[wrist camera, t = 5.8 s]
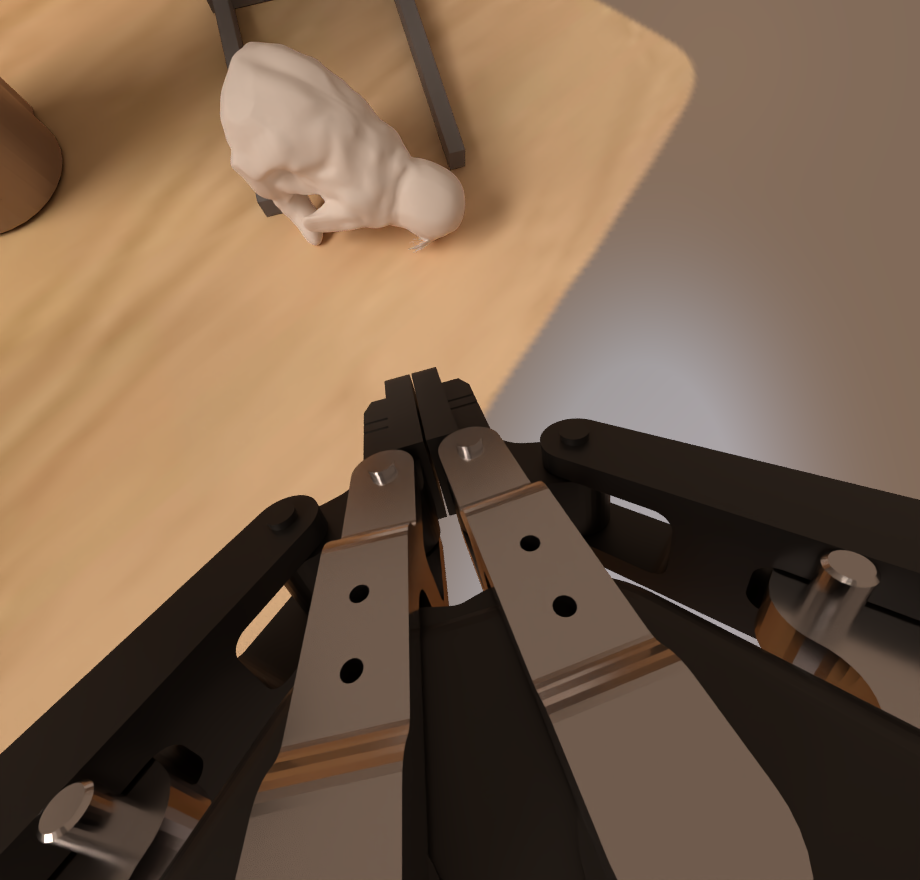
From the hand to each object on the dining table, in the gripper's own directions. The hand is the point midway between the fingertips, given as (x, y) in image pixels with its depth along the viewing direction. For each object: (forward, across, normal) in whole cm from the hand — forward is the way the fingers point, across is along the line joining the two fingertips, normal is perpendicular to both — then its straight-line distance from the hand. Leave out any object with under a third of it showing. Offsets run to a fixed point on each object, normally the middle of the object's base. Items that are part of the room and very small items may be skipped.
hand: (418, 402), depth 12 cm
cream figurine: (+19, 0, -3) cm, 20 cm away
